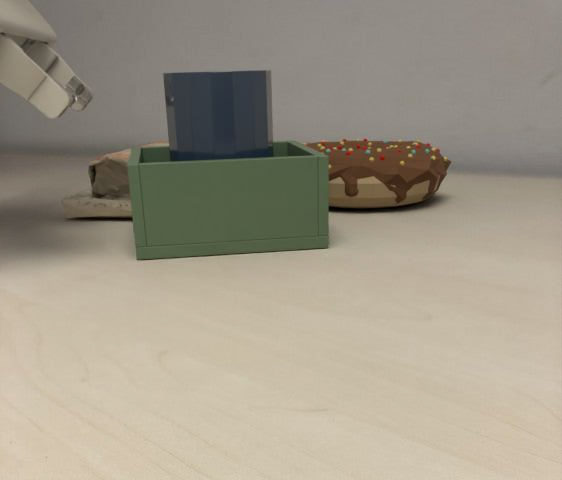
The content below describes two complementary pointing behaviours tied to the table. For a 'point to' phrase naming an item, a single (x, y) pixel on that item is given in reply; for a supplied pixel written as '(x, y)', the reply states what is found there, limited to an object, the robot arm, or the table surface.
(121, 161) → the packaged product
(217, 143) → the cup
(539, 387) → the table surface
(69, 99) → the robot arm
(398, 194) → the donut
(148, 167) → the tub
